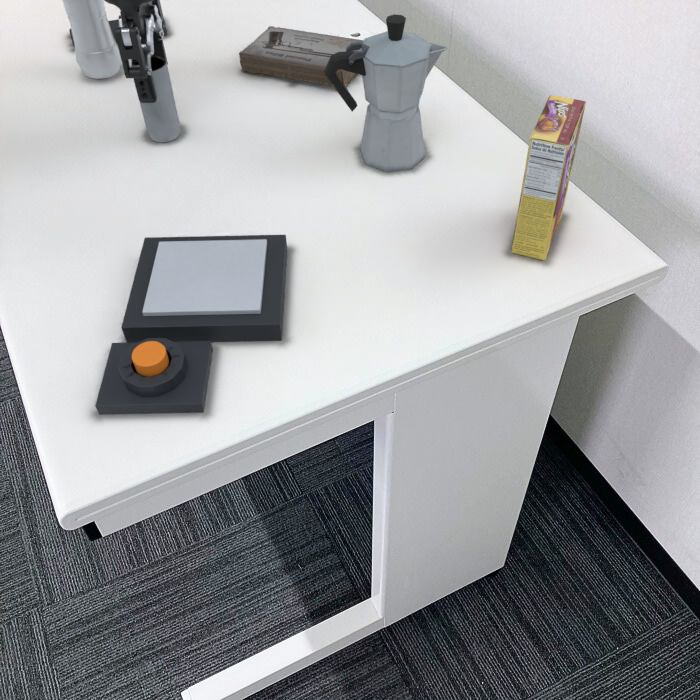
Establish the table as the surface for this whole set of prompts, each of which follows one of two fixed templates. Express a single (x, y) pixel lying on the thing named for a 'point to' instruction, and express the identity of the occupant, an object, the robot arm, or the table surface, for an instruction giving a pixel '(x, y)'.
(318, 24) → the table surface
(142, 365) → the tare button
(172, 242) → the scale
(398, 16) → the coffee maker
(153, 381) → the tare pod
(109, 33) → the plastic bottle
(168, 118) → the grey hollow tube
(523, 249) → the candy box
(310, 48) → the box
